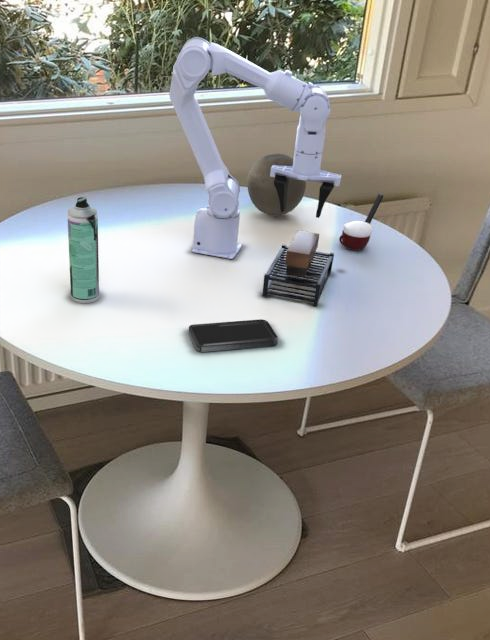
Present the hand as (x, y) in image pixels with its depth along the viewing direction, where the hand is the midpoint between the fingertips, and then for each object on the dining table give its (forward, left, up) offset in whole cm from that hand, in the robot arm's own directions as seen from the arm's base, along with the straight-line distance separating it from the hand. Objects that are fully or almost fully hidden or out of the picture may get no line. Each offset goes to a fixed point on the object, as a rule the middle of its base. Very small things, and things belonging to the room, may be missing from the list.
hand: (300, 213), depth 164 cm
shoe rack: (+4, -14, -10) cm, 18 cm away
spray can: (-34, -36, -10) cm, 51 cm away
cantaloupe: (-10, +21, -10) cm, 25 cm away
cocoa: (+12, +10, -10) cm, 19 cm away
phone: (-3, -40, -10) cm, 41 cm away
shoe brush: (+4, -14, -5) cm, 15 cm away
